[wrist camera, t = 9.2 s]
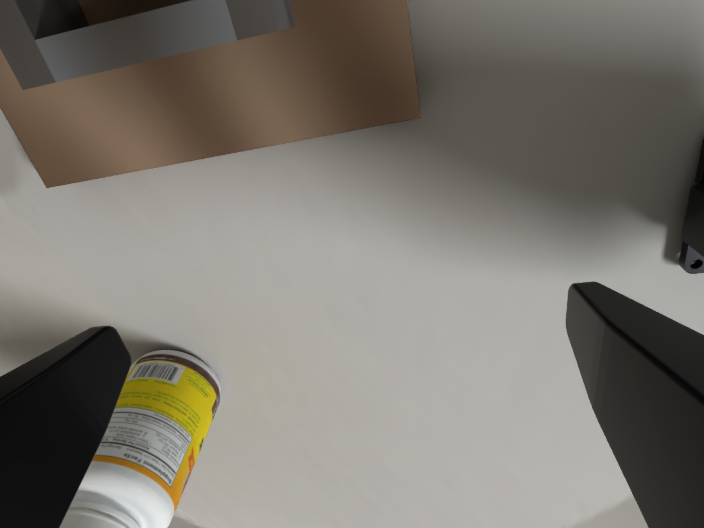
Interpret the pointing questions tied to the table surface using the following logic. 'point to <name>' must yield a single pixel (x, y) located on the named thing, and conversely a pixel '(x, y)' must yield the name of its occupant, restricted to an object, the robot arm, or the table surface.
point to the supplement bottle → (148, 444)
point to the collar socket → (195, 78)
